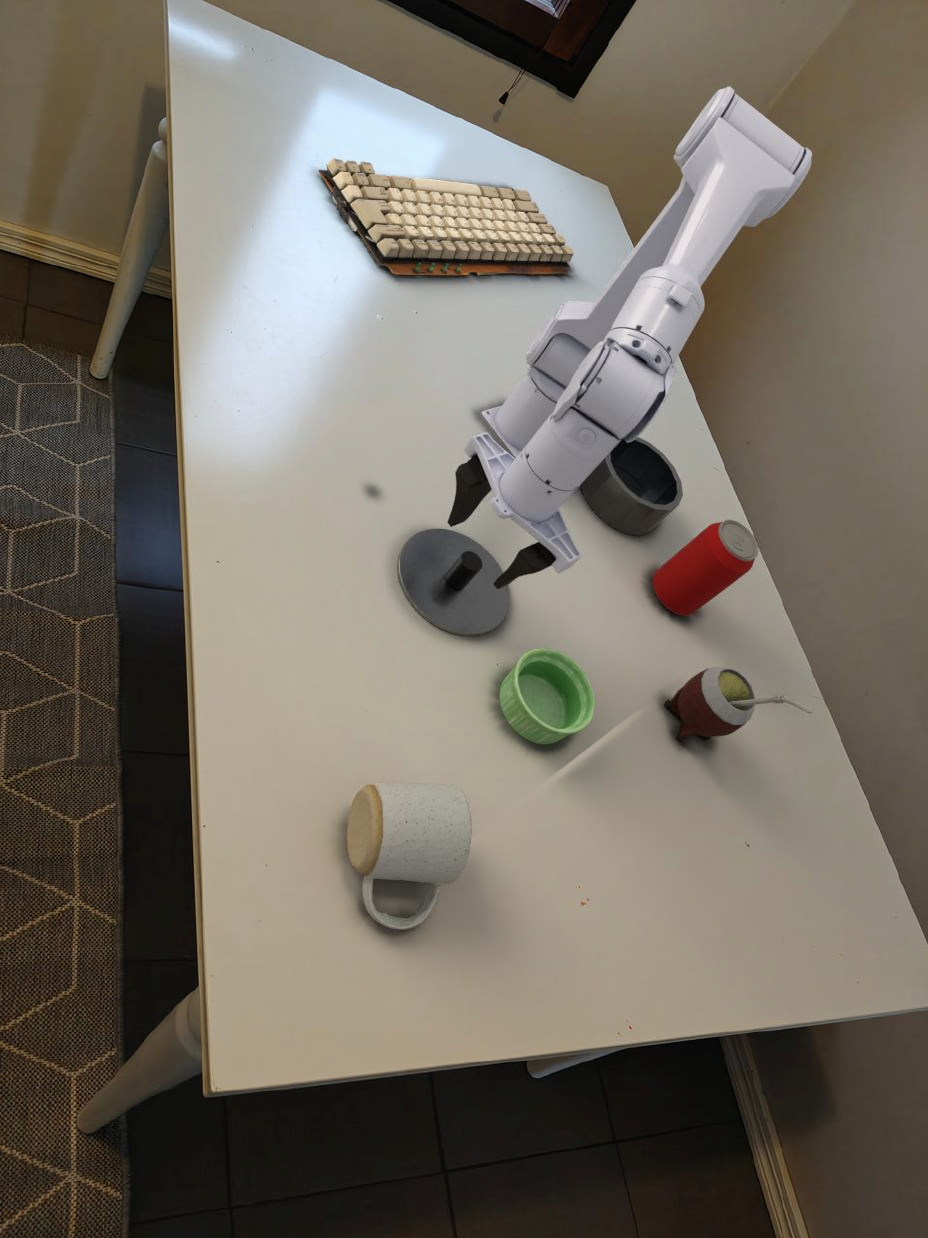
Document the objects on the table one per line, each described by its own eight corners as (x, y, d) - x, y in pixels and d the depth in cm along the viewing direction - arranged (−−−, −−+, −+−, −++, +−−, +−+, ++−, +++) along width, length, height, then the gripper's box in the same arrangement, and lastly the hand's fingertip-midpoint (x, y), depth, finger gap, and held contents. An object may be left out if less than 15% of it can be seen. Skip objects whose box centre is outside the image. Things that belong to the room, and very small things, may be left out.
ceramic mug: (339, 798, 70) (375, 765, 64) (429, 803, 73) (471, 772, 68) (344, 933, 65) (383, 911, 59) (441, 931, 68) (487, 910, 62)
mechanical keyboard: (510, 189, 137) (520, 170, 134) (573, 276, 132) (585, 259, 130) (310, 174, 113) (319, 151, 110) (379, 280, 108) (390, 259, 106)
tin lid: (457, 520, 93) (477, 495, 89) (526, 612, 90) (549, 590, 87) (371, 555, 84) (389, 529, 81) (444, 658, 82) (466, 635, 79)
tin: (615, 452, 113) (640, 425, 109) (670, 520, 111) (697, 495, 107) (563, 473, 106) (588, 445, 102) (621, 546, 104) (648, 520, 100)
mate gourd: (671, 680, 96) (767, 613, 85) (723, 725, 96) (826, 665, 85) (650, 724, 91) (750, 660, 80) (706, 772, 91) (813, 714, 80)
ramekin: (476, 705, 81) (499, 685, 78) (519, 651, 87) (542, 630, 84) (545, 769, 81) (571, 751, 78) (584, 711, 87) (609, 692, 84)
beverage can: (696, 590, 106) (765, 535, 97) (689, 628, 102) (761, 575, 93) (652, 561, 105) (718, 504, 96) (644, 599, 101) (712, 542, 92)
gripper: (473, 409, 72) (406, 505, 82) (577, 544, 69) (495, 626, 79) (525, 394, 76) (456, 487, 86) (625, 520, 74) (542, 600, 84)
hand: (478, 552), depth 83 cm, fingers open, 7 cm apart
